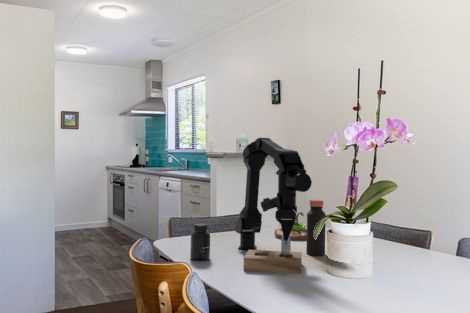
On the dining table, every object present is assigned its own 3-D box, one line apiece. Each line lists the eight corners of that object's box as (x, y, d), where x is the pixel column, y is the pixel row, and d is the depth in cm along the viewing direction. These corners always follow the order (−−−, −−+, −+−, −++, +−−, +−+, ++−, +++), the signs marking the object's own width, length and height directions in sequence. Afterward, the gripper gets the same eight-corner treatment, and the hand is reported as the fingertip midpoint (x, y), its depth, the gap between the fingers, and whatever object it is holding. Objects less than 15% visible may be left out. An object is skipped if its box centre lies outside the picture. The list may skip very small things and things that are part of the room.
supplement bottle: (207, 261, 151) (207, 226, 151) (187, 260, 152) (188, 225, 152) (212, 257, 158) (212, 223, 158) (193, 255, 159) (194, 222, 159)
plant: (321, 242, 188) (322, 216, 188) (275, 241, 189) (276, 214, 189) (316, 233, 208) (316, 209, 208) (274, 232, 209) (274, 208, 209)
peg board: (248, 261, 152) (248, 249, 152) (301, 264, 150) (301, 252, 150) (243, 270, 141) (243, 257, 141) (301, 273, 138) (301, 260, 138)
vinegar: (302, 254, 164) (303, 200, 164) (312, 251, 169) (313, 198, 169) (318, 257, 160) (319, 201, 160) (328, 254, 165) (329, 200, 164)
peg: (281, 266, 146) (281, 236, 146) (290, 266, 146) (290, 236, 146) (280, 268, 143) (281, 237, 143) (290, 269, 143) (290, 238, 143)
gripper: (264, 186, 155) (264, 231, 155) (259, 191, 136) (258, 242, 136) (297, 187, 153) (296, 232, 153) (296, 192, 134) (295, 243, 134)
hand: (286, 237), depth 144 cm, fingers open, 9 cm apart
